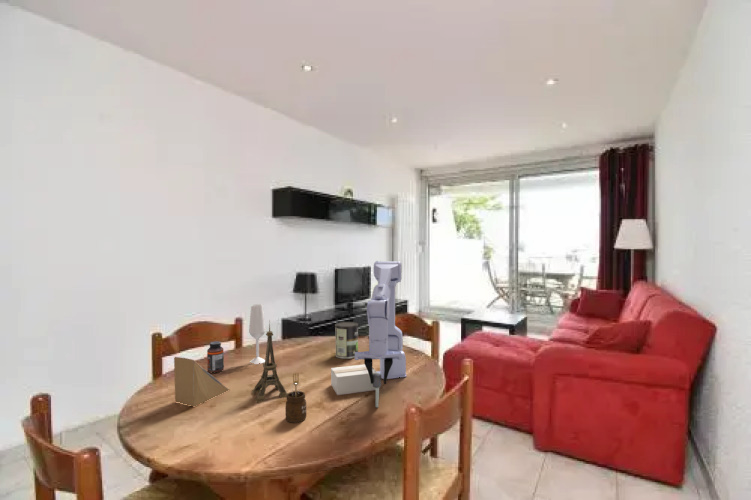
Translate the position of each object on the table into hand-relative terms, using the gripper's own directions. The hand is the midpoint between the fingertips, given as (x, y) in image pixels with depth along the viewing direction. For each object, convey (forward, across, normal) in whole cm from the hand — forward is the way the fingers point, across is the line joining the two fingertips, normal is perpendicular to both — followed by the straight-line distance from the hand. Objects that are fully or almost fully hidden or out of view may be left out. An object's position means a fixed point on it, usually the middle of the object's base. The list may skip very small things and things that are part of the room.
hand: (378, 382), depth 118 cm
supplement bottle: (+8, -63, +33) cm, 72 cm away
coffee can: (+8, -13, +53) cm, 55 cm away
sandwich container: (+8, -57, +9) cm, 59 cm away
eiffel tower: (+8, -36, +11) cm, 38 cm away
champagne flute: (+8, -50, +45) cm, 68 cm away
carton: (+7, -8, +16) cm, 19 cm away
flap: (+7, 0, +5) cm, 9 cm away
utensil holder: (+8, -24, -7) cm, 26 cm away
